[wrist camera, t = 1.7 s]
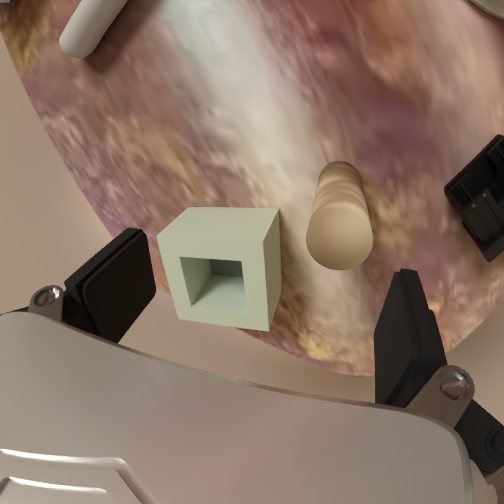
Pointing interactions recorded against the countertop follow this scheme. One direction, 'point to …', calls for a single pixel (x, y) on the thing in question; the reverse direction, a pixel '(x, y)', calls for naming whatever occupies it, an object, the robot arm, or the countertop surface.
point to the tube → (88, 26)
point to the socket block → (224, 265)
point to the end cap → (482, 198)
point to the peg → (339, 219)
